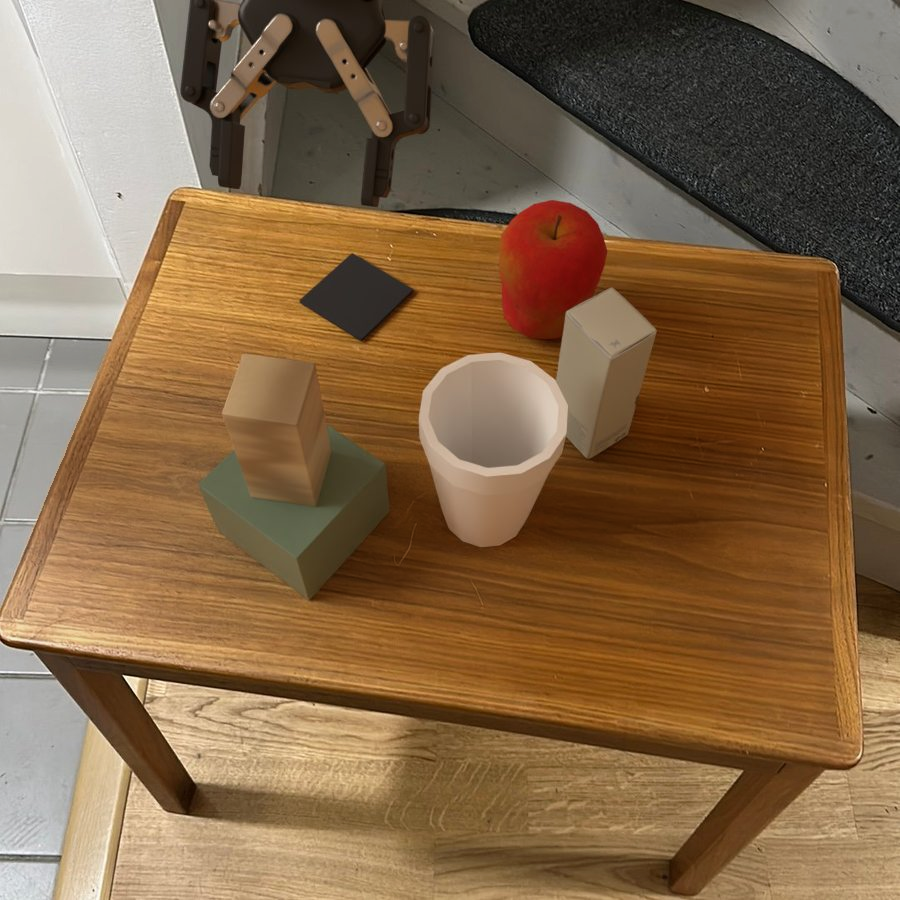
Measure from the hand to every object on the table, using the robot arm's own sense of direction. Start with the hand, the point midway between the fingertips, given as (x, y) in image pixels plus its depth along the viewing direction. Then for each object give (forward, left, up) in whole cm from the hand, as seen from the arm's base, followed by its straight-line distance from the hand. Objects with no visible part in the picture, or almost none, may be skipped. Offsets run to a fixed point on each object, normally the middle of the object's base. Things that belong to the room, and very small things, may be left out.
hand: (299, 197), depth 55 cm
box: (+17, +11, -23) cm, 30 cm away
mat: (-6, +10, -22) cm, 25 cm away
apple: (+8, +18, -23) cm, 30 cm away
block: (+5, -9, -15) cm, 18 cm away
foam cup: (+15, 0, -23) cm, 27 cm away
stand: (+5, -9, -22) cm, 25 cm away
